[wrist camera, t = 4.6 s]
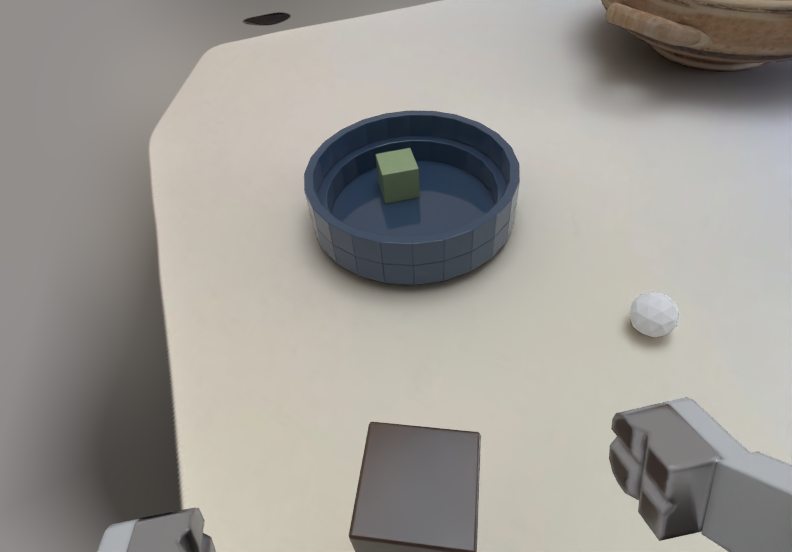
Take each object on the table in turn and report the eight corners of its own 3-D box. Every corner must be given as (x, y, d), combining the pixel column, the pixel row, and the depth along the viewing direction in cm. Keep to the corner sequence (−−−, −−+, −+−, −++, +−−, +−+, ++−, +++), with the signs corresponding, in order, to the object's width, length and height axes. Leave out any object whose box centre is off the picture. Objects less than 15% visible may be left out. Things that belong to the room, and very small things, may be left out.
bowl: (293, 284, 41) (278, 237, 37) (337, 155, 52) (329, 108, 48) (513, 298, 39) (521, 250, 35) (512, 160, 49) (518, 112, 46)
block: (385, 203, 45) (382, 175, 43) (378, 182, 47) (375, 153, 45) (419, 197, 45) (418, 168, 43) (411, 176, 47) (410, 147, 45)
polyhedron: (655, 307, 37) (669, 278, 35) (679, 341, 35) (695, 313, 33) (616, 315, 37) (628, 286, 35) (638, 350, 35) (651, 322, 33)
